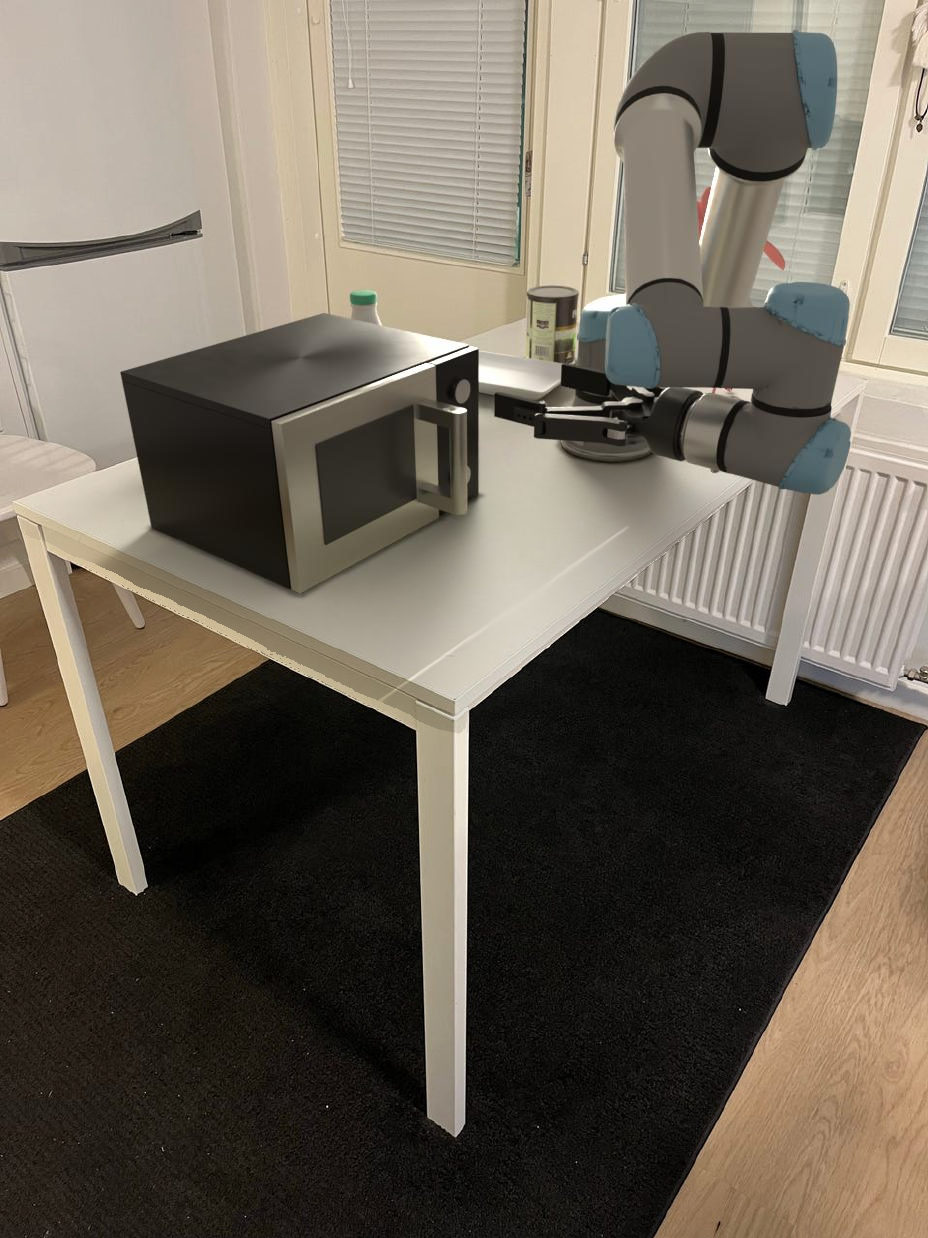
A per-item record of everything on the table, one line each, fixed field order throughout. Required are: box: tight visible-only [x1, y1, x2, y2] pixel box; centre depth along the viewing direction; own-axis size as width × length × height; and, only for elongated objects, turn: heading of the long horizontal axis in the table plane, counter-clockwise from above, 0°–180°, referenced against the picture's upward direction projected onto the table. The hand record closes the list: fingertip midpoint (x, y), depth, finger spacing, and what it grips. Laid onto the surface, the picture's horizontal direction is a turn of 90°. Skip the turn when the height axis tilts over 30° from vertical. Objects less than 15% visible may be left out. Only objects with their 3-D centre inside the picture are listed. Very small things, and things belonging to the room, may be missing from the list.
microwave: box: [119, 312, 480, 591], centre depth 130 cm, size 30×36×22 cm
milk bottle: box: [349, 289, 383, 326], centre depth 168 cm, size 8×8×20 cm
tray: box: [479, 349, 562, 401], centre depth 183 cm, size 17×31×4 cm, turn 60°
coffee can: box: [525, 285, 580, 365], centre depth 191 cm, size 10×10×14 cm
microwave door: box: [271, 363, 468, 595], centre depth 118 cm, size 9×27×22 cm, turn 142°
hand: (530, 388), depth 112 cm, fingers open, 13 cm apart
